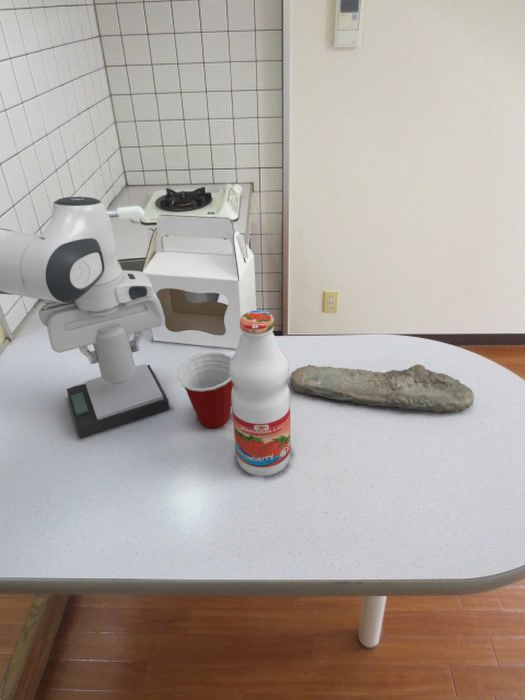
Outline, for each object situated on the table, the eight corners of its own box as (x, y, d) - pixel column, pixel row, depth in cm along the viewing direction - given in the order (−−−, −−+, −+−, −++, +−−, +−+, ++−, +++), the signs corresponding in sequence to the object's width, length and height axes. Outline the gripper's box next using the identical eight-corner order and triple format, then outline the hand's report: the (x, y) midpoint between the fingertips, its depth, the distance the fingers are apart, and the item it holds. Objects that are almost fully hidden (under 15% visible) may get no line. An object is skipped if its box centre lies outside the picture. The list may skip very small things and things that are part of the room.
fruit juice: (291, 438, 94) (291, 302, 78) (289, 479, 86) (288, 337, 70) (239, 436, 95) (228, 301, 79) (232, 476, 87) (218, 335, 71)
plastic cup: (179, 407, 102) (171, 357, 95) (233, 395, 105) (228, 345, 98) (190, 445, 94) (181, 393, 87) (248, 431, 96) (244, 379, 89)
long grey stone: (295, 373, 112) (286, 405, 104) (293, 354, 109) (284, 385, 101) (470, 385, 103) (474, 421, 96) (474, 364, 100) (478, 400, 92)
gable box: (258, 319, 128) (252, 207, 112) (244, 350, 117) (237, 231, 102) (172, 312, 132) (155, 203, 116) (152, 341, 122) (130, 225, 106)
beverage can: (102, 389, 97) (88, 334, 90) (102, 369, 102) (88, 316, 96) (137, 382, 99) (125, 328, 92) (135, 363, 104) (123, 310, 97)
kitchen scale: (80, 438, 96) (76, 425, 94) (69, 398, 106) (65, 385, 104) (169, 409, 102) (167, 396, 100) (151, 373, 111) (148, 361, 110)
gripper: (37, 313, 84) (59, 381, 92) (161, 284, 91) (171, 349, 99) (33, 296, 89) (55, 362, 97) (151, 270, 96) (162, 333, 104)
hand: (115, 355), depth 98 cm, fingers closed on beverage can, 6 cm apart
